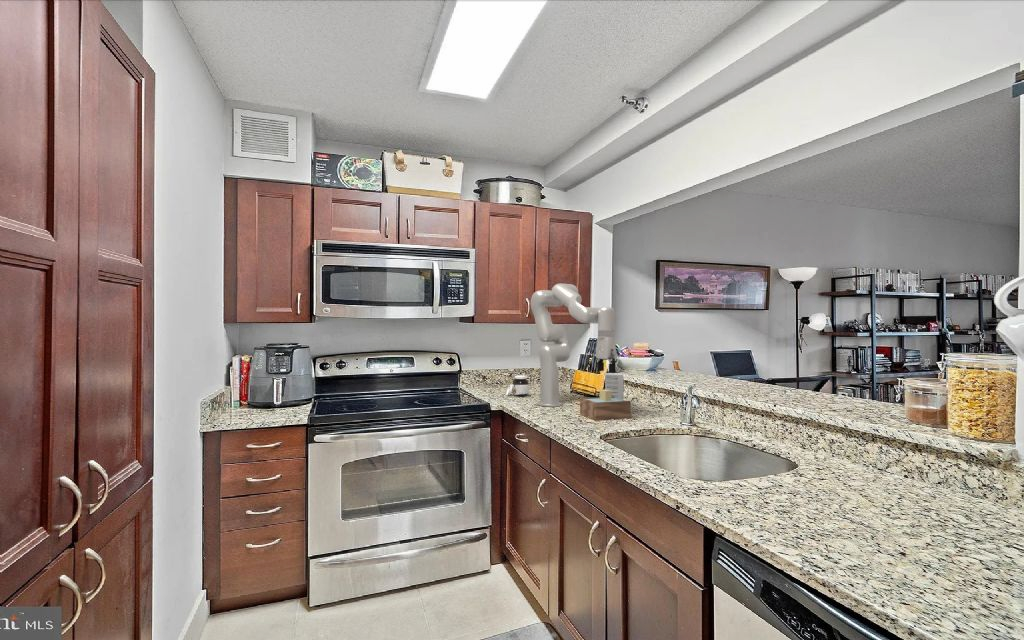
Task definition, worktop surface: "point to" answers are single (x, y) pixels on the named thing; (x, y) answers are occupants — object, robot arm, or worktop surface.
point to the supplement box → (615, 384)
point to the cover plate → (605, 397)
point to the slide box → (605, 409)
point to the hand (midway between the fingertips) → (606, 371)
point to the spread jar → (519, 386)
